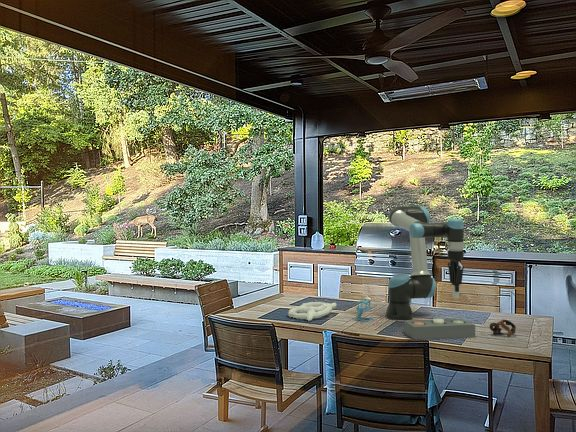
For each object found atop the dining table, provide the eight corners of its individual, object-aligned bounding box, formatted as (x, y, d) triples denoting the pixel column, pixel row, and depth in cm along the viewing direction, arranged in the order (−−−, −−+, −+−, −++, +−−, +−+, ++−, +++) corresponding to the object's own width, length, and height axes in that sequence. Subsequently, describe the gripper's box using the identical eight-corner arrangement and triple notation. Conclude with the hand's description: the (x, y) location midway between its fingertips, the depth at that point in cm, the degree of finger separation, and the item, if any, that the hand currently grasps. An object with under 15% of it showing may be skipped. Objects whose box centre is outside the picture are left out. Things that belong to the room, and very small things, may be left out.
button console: (403, 332, 232) (403, 320, 232) (461, 330, 235) (461, 318, 235) (414, 339, 218) (414, 327, 218) (475, 337, 221) (475, 324, 221)
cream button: (431, 324, 229) (431, 318, 229) (441, 324, 229) (441, 318, 229) (435, 327, 224) (435, 320, 224) (445, 326, 224) (445, 320, 224)
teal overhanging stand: (359, 318, 267) (359, 297, 267) (373, 319, 263) (373, 298, 263) (354, 320, 260) (354, 299, 260) (368, 322, 256) (368, 300, 256)
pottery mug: (503, 332, 232) (512, 319, 229) (513, 345, 223) (521, 332, 220) (482, 327, 230) (490, 314, 226) (491, 340, 221) (499, 327, 218)
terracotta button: (411, 328, 228) (411, 321, 228) (421, 327, 228) (421, 321, 228) (415, 330, 223) (415, 324, 223) (425, 330, 223) (425, 323, 223)
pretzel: (314, 325, 256) (312, 314, 256) (281, 321, 272) (280, 310, 271) (342, 311, 278) (340, 300, 277) (310, 308, 293) (309, 297, 293)
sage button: (451, 326, 230) (451, 320, 230) (460, 326, 230) (460, 320, 230) (455, 328, 225) (455, 322, 225) (465, 328, 225) (465, 322, 225)
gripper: (442, 249, 236) (442, 295, 236) (454, 251, 223) (454, 300, 223) (456, 249, 236) (457, 295, 237) (469, 251, 223) (469, 300, 224)
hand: (455, 298), depth 230 cm, fingers closed
